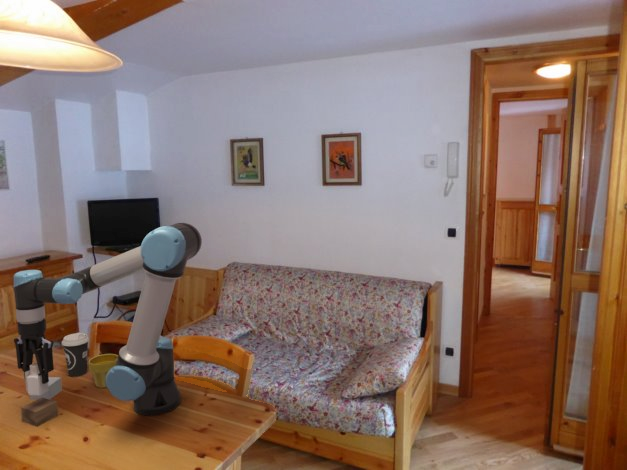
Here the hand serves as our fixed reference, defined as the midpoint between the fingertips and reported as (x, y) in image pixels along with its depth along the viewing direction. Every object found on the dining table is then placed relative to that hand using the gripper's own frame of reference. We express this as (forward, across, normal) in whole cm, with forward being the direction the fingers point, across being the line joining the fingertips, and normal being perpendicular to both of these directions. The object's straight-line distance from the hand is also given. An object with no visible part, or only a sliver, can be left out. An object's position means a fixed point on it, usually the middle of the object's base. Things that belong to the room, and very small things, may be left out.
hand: (37, 391), depth 144 cm
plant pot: (+10, -2, -26) cm, 28 cm away
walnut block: (+10, 0, 0) cm, 10 cm away
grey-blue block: (+10, +12, -13) cm, 20 cm away
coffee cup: (+10, +15, -30) cm, 35 cm away
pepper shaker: (+1, 0, 0) cm, 1 cm away
